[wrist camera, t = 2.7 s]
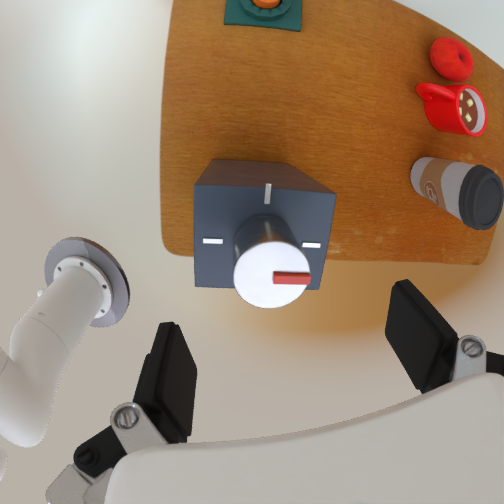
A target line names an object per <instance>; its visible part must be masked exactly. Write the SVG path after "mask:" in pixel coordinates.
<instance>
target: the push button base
mask: <svg viewBox="0 0 504 504" xmlns="http://www.w3.org/2000/svg"><path fill="white" fill-rule="evenodd" d="M301 12H302V0H280V2H279V4H278V5H277V6H276V7H274V8H270V9H264V8H260V7H258V6H256V5H255V4H254V3H253V1H252V0H227V2H226V10H225V18H224V25H244V26H257V27H268V28H276V29H284V30H291V31H297V32H300V30H301Z"/></svg>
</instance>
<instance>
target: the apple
mask: <svg viewBox="0 0 504 504" xmlns="http://www.w3.org/2000/svg"><path fill="white" fill-rule="evenodd" d="M430 60H431V63H432V65H433V67H434V69H435V70H436V71H437V72H438V73H439V74H440V75H441V76H443V77H444V78H446V79H449V80H451V81H453V82H463V81H466V80H467V79H468V78H469V77H470V76H471V74H472V71H473V59H472V56H471V54H470V52H469V51H468V49H467V48H466V47H465V46H464V45H463V44H462V43H461V42H460V41H458V40H456V39H454V38H449V37H442V38H439V39H436V40H435V41H434V42H433V44H432V46H431V49H430Z"/></svg>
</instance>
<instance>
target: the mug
mask: <svg viewBox="0 0 504 504" xmlns="http://www.w3.org/2000/svg"><path fill="white" fill-rule="evenodd" d="M415 89H416V93H417V94H418V95H419V96H420V97H421V98H423V99H424V107H425V113H426V115H427V118H428V120H429V122H430V123H431V125H432V126H433V127H434V128H435V129H437V130H439V131H441V132H449V133H455V134H462V135H468V136H473V137H477V136H480V135H481V134H482V133H483V132H484V130H485V128H486V125H487V110H486V105H485V102H484V100H483V98H482V96H481V94H480V93H479V92H478V90H476V89H475V88H474V87H473V86H470V85H449V86H440V85H437V84H432V83H420V84H418V85H417V86H416V88H415Z"/></svg>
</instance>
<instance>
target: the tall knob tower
mask: <svg viewBox="0 0 504 504" xmlns="http://www.w3.org/2000/svg"><path fill="white" fill-rule="evenodd" d="M335 201H336V193H334V192H333V191H331V190H330V189H328V188H327V187H325V186H323V185H322V184H320V183H319V182H317V181H316V180H314V179H313V178H311V177H309V176H308V175H306V174H305V173H303V172H301V171H300V170H298V169H296V168H295V167H293V166H291V165H290V164H286V163H275V162H262V161H246V160H225V159H213V160H212V161H211V163H210V164H209V165H208V167H207V168H206V169H205V171H204V172H203V173H202V175H201V176H200V178H199V179H198V180H197V182H196V183H195V185H194V273H195V286H196V287H213V288H235V286H234V283H233V236H234V233H235V231H236V229H237V227H238V226H239V225H240V224H241V223H242V222H243V221H244V220H245V219H247V218H249V217H251V216H253V215H257V214H272V215H275V216H278V217H279V218H281V219H283V220H284V221H285V222H286V223H287V224H288V225H289V227H290V229H291V230H292V232H293V234H294V236H295V238H296V239H297V241H298V243H299V245H300V247H301V248H302V250H303V252H304V254H305V256H306V257H307V259H308V262H309V265H310V275H311V280H310V285H307V287H306V289H305V290H318V289H319V286H320V281H321V277H322V273H323V268H324V263H325V258H326V253H327V248H328V242H329V237H330V231H331V226H332V220H333V214H334V208H335Z"/></svg>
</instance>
